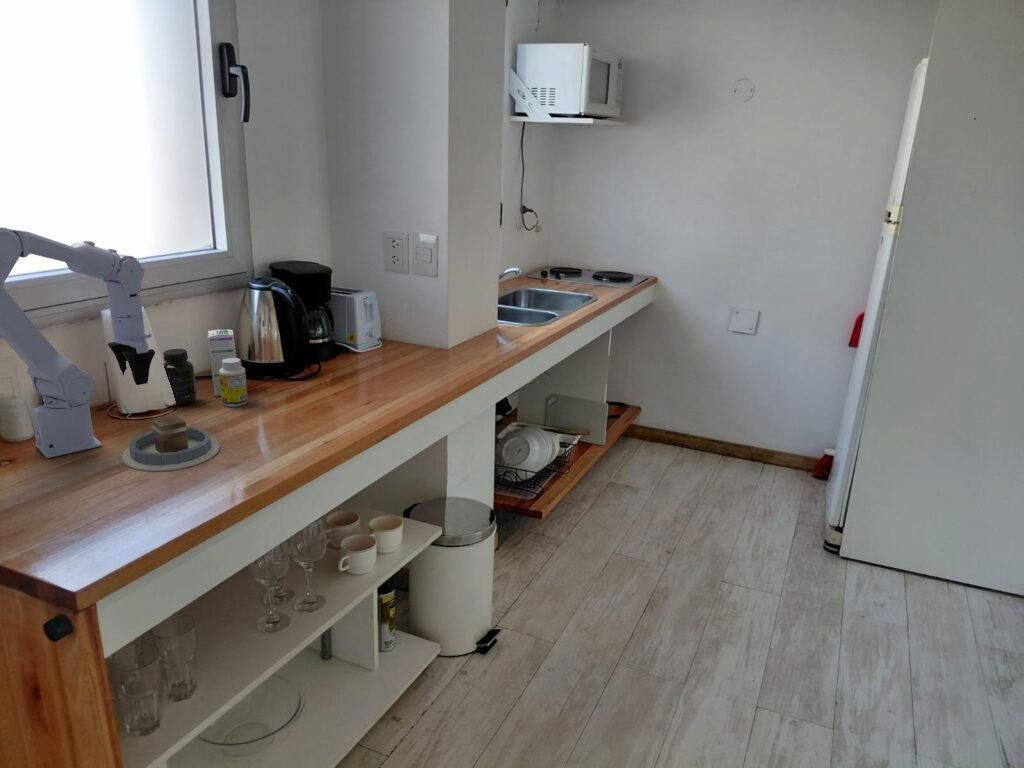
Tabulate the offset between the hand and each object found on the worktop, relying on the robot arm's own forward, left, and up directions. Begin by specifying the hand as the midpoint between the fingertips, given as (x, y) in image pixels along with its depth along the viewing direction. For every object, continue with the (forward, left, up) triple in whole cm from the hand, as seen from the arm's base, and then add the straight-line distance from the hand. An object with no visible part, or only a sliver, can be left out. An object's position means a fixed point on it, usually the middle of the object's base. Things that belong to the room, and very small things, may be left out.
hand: (135, 379), depth 156 cm
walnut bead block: (-1, -20, -9) cm, 22 cm away
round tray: (-1, -20, -9) cm, 22 cm away
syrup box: (+22, +8, -10) cm, 25 cm away
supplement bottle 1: (+11, +7, -10) cm, 16 cm away
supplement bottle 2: (+20, -1, -10) cm, 22 cm away
